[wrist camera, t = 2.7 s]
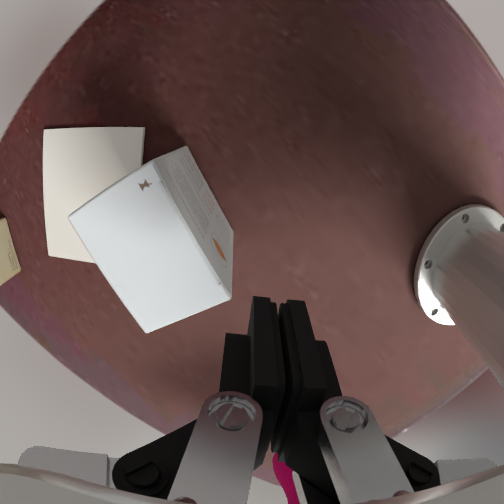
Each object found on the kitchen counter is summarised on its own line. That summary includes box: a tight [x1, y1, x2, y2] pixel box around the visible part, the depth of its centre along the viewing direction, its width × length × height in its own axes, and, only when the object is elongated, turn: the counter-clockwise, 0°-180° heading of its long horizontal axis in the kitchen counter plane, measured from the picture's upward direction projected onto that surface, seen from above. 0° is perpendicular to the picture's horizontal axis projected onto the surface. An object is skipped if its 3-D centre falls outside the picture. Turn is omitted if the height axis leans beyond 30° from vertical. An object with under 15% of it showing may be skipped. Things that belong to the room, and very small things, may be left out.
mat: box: [43, 127, 145, 263], centre depth 24 cm, size 10×12×1 cm
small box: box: [68, 146, 233, 333], centre depth 20 cm, size 8×6×10 cm
